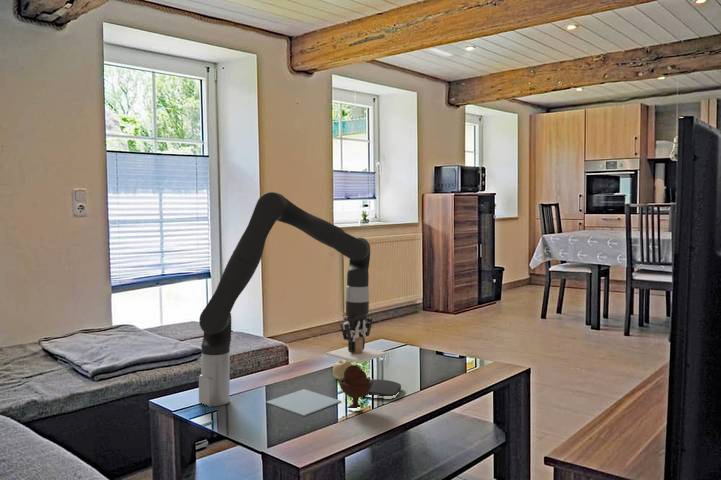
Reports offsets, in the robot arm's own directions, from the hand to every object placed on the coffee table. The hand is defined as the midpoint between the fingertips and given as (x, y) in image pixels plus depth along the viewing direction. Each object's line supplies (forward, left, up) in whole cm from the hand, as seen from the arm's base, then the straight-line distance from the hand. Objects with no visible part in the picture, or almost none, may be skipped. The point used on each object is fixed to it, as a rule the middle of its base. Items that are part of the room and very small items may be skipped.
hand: (356, 350), depth 199 cm
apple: (+22, +25, -20) cm, 39 cm away
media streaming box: (+19, +5, -20) cm, 28 cm away
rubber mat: (-7, +17, -20) cm, 27 cm away
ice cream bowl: (0, 0, -20) cm, 20 cm away
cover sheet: (0, 0, -1) cm, 1 cm away
